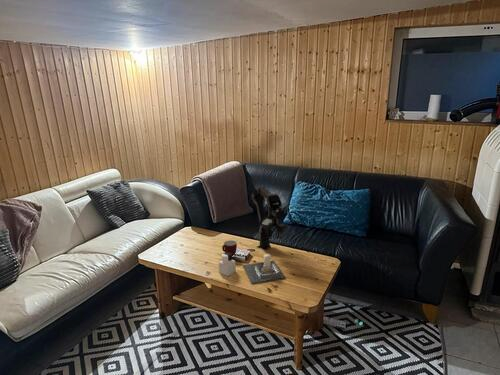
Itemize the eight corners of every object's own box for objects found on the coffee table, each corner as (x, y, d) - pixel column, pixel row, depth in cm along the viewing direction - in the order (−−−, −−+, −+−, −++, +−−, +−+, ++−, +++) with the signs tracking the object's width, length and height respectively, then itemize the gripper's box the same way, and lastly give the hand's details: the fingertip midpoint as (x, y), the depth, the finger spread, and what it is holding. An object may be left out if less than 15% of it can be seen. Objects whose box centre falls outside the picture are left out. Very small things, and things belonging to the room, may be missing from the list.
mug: (218, 257, 209) (218, 243, 207) (225, 252, 216) (224, 238, 214) (233, 261, 205) (232, 246, 202) (239, 255, 212) (238, 241, 209)
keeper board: (251, 284, 180) (251, 280, 179) (242, 266, 198) (242, 262, 198) (285, 278, 185) (285, 274, 184) (273, 261, 203) (273, 258, 203)
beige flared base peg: (259, 269, 193) (259, 254, 190) (269, 266, 196) (269, 251, 193) (264, 275, 187) (264, 259, 184) (275, 272, 189) (275, 256, 187)
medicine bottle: (227, 267, 197) (226, 249, 194) (235, 271, 193) (235, 253, 190) (218, 272, 192) (218, 254, 189) (227, 276, 188) (227, 257, 184)
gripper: (253, 214, 204) (253, 236, 209) (276, 221, 192) (276, 245, 196) (264, 209, 212) (264, 231, 217) (287, 216, 200) (287, 239, 204)
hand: (272, 236), depth 208 cm, fingers open, 9 cm apart
